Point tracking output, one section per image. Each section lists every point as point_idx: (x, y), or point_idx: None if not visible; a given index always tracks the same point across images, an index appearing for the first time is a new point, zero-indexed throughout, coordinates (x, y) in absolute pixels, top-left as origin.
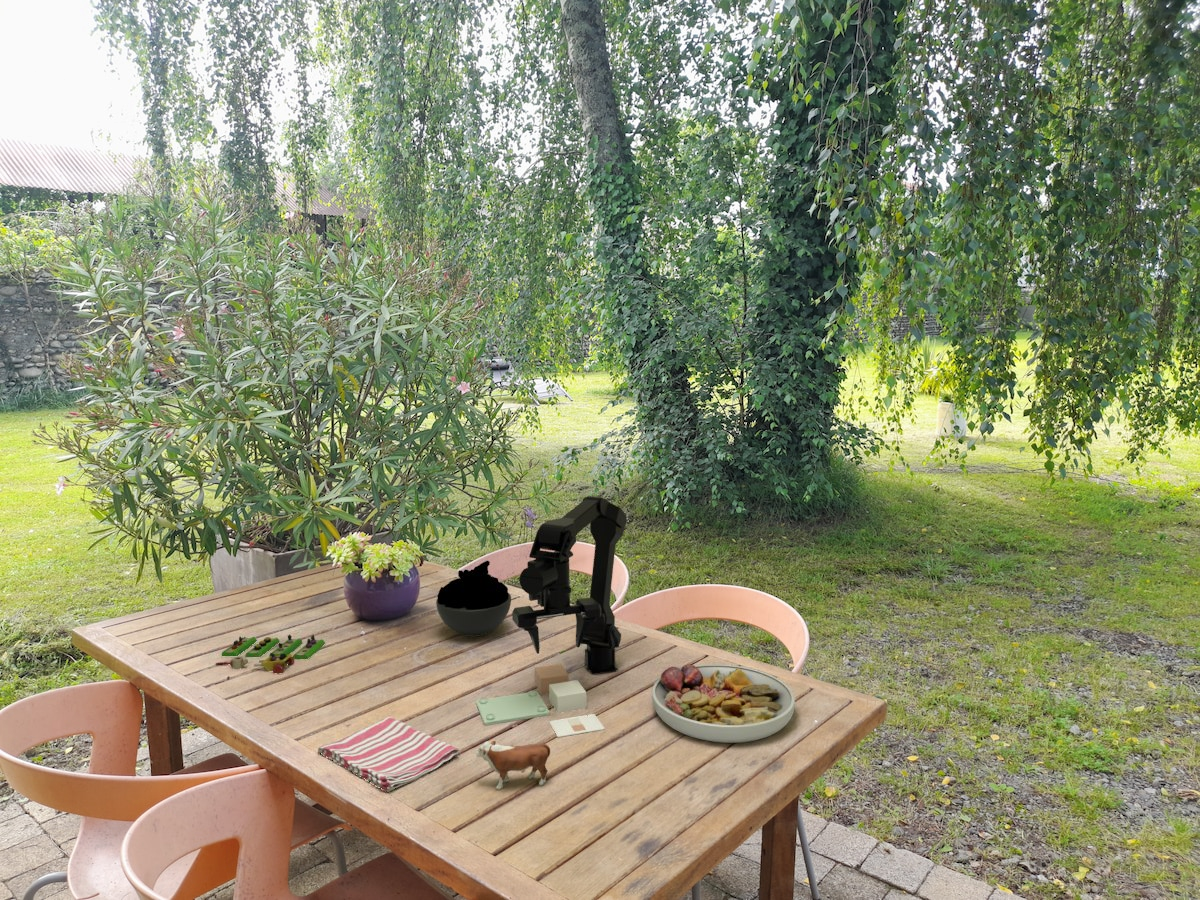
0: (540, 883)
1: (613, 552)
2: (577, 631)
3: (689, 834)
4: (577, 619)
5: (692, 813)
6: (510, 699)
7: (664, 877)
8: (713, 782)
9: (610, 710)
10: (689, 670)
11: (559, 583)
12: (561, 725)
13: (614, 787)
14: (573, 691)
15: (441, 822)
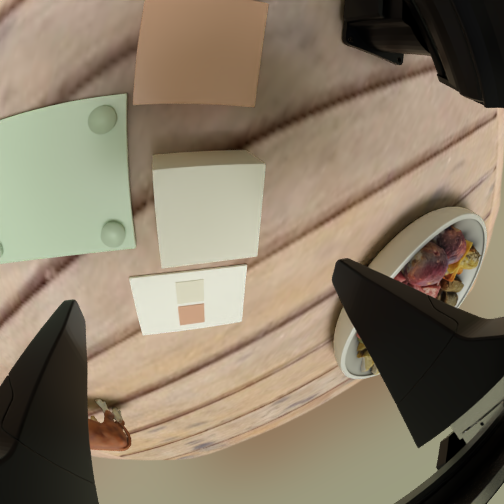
0: (123, 457)
1: None
2: (397, 329)
3: (238, 437)
4: (466, 366)
5: (253, 426)
6: (33, 141)
7: (203, 454)
8: (297, 400)
9: (288, 251)
10: (452, 261)
11: None
12: (156, 300)
13: (200, 413)
14: (221, 244)
15: None
